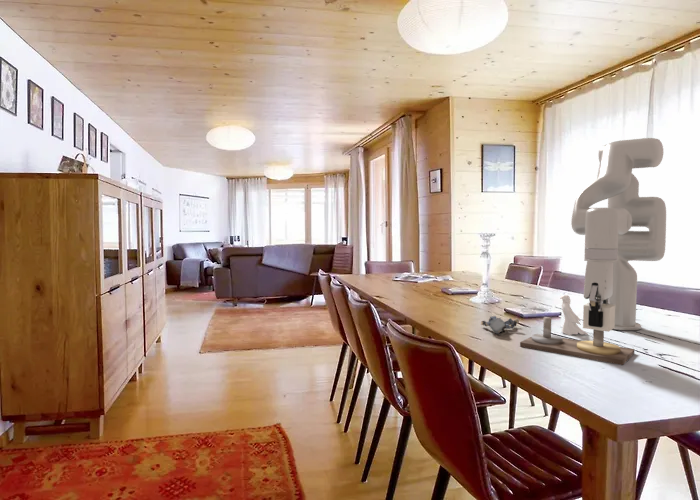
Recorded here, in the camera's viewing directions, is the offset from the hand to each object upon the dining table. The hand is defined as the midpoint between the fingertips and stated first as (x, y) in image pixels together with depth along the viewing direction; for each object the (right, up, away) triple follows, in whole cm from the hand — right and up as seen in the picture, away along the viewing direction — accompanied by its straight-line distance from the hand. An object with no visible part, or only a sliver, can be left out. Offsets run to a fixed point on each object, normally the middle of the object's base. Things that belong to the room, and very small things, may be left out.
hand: (598, 323), depth 118 cm
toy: (-17, -7, +26) cm, 32 cm away
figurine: (+4, -7, +22) cm, 24 cm away
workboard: (-4, -8, +4) cm, 10 cm away
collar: (0, -1, 0) cm, 1 cm away
